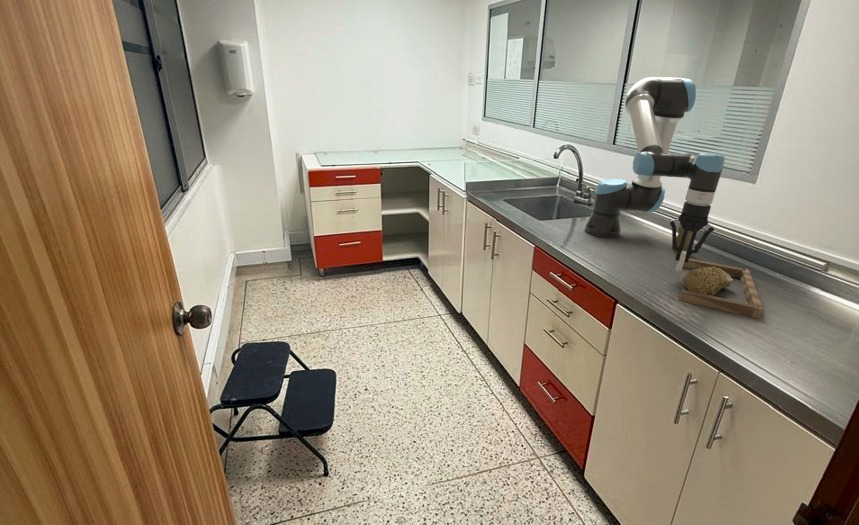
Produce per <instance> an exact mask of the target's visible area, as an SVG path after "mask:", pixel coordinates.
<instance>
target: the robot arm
mask: <svg viewBox="0 0 859 525" xmlns="http://www.w3.org/2000/svg"><path fill="white" fill-rule="evenodd" d="M696 97H697V88H696V84H695V83H694V81H693V80H692V79H690V78H682V77H656V76H652V77H651V76H650V77H646V78H643V79H641V80H639V81H638V82H636V83H635V84H634V85H633V86H632V87H631V88H630V89H629V91H628V93H627V96H626V97H625V102H624V103H625V106H624V107H625V110H626V113H627V114H628V115H629V116H630V119H631V124H632V130H633V134H634V139H635V144H636V148H637V153H636V154H635V156H634V158H633V161H632V171H633V173H634V174H636V175H637V176H636V177H633V179H632V181H631V183H628V181H627V180H625V179H619V178H610V179H609V178H608V179H603V180H601V181H600V182H598V183H597V185H596V190H595V195H594V201H593V206H592V212H591V214H590V216H589V218H588V220H587V221H586V223H585V227H584V230H585V232H587V233H588V234H589V235H593V236H598V237H603V238H616V237H618V238H619V237H620V236H621V234H622V226H621V213H622V212H638V213H643V214H645V213H655V212H656V211H658V210H659V209H660V208H661V206H662V204H663V202H664V200H665V195H666V194H665V193H666V190H665V188H664V186H663V182H662V181H661V177H666V178H667V177H668V178H681V179H682V178H683V179H689V185H688V187H687V188H688V189H687V190H686V191H687V192H686V195H685V202H684V203H683V206H682V210H681V213H680V214H679V216H678V218H676V219H670V221H669V224H670V226H671V231H672V233H671V236H672V238H671V240H672V241H671V242H672V244H671V245H672V247H671V249H672V248H673V250H676V251H677V252H676V254H675V262H677V265H676V267H675V271H676V272H679V273H682V270H683V268H684V267H683V264H684V262H685V263H687V262H688V260H689V259H690V256H691V255H692V254H697V253H698V252H699V251H700V249H701V248H702V246H703V244H704V243H705V241H706V239H707V238H708V237H709V235H710V234H711V233H713V232H714V231H715V227H714V226H713V225H711V224H710V223H709V220H708V217H709V215H710V212H711V209H712V206H711V205H712V204H713V202H714V198H715V195H716V191H717V187H718V184H719V182H720V178H721V175H722V172H723V170H724V164H725V159H726V158H725V156H724V155H723V154H721V153H716V152H699V153H698V154H697V153H691V152H688V153H683V154H682V153H679V154H678V153H669V150H670V146H671V144H672V140H673V137H674V134H675V131H676V129H677V125H678V122H679V121H680V120H682V119H683V118H684V116H685V113H689V112H690V111H691V110H693V107H694V105H695V103H696ZM678 225H681V226H682V228H683V232H682V236H681V239H680V243H679V246H677V241H676V238H677V226H678ZM703 228H704V230H703V233H702V234H701V236H700V238H699V239H698V241H697V242H696V243H695V241H696V236H697V234H698V232H699V231H701V230H702V229H703ZM688 231H692V233H691V234H690V240H689V243H688V247H687V251H686V252H685V251H682V250H683V246H684V243H685V239H686V236H687V233H688ZM694 244H695V245H694ZM693 246H694V247H693Z"/></svg>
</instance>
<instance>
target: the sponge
mask: <svg viewBox="0 0 859 525" xmlns="http://www.w3.org/2000/svg"><path fill="white" fill-rule="evenodd" d="M682 280H683V285H684V286H685V287H686V288H687V291H691V292H696V293H701V294H705V295H710V296H714V297H715V295H717V293H719V291H721V289H725V288H727V287H730V286H731V284H732V283H734V278H733V277H731V276H730V275H729V274H727V273H726V272H724V271H722V270H721V269H720V268H717V267H704V268H699V269H691V270H690V271H688V272H687V273H686V274H685V275H684V277H683V279H682Z"/></svg>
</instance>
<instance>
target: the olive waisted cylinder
mask: <svg viewBox="0 0 859 525" xmlns="http://www.w3.org/2000/svg"><path fill="white" fill-rule="evenodd" d="M677 231H678V233H677V234H676V241H677V246H679V243H680V239H681V236H682V232H683V228H682V226H681V224H679V226H678V228H677ZM691 233H692V231H688V233H687V236H686V239H685V243H684V246H683V250H682V251H685V252H686V251H687V247H688V243H689V240H690V236H691ZM671 252H674V253H677V251H676V250H673V248H672V247H671Z"/></svg>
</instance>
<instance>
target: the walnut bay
mask: <svg viewBox="0 0 859 525" xmlns="http://www.w3.org/2000/svg"><path fill="white" fill-rule="evenodd" d="M704 267H717V268H720V269H721V270H722V271H724V272H726V273H727V274H729V275H730V276H732V277H731V278H736V277H738V279H741V280H740V283H741V286H743V287H742V290H743V289H744V290H743V293H744V292H745V293H744V295H745V296H744V297H745V299H747V300H746V302H748V303H746V302H741V301H737V300H734V299H729V298H728V299H727V298H723V297H719V296H715V295H714V296H710V295H705V294H701V293H696V292H691V291H689V290H688V289H687V290H685V289H681V291H680V294H679V297H678V301H680V302H684V303H689V304H694V305H696V306H702V307H707V308H711V309H715V310H720V311H724V312H728V313H729V312H730V313H733V314H738V315H742V316H747V317H750V318H751V317H752V318H755V319H761V318H762V315H763V312H764V308H763V304H762V302H761V299H760V296H759V294H758V291H757V289H756V286H755V283H754V280H753V278H752V275H751V272H750V270H749V269H746V268H741V267H736V266H730V265H725V264H720V263H715V262H708V261H705V260H698V259H693V258H689V260H688V262H687V263H685V262H684V264H683V268H684V269H685V268H686V269H691V270H695V269H699V268H704Z"/></svg>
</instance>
